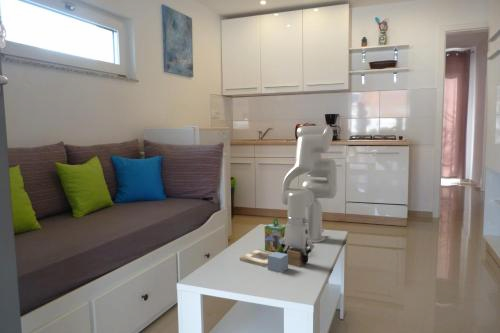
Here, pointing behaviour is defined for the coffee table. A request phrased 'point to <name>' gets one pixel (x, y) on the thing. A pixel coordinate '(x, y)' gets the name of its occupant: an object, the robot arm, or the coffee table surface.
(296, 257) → the walnut cube
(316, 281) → the coffee table surface
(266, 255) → the tan square board
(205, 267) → the coffee table surface
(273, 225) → the chalk box
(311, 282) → the coffee table surface
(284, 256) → the slate cube
